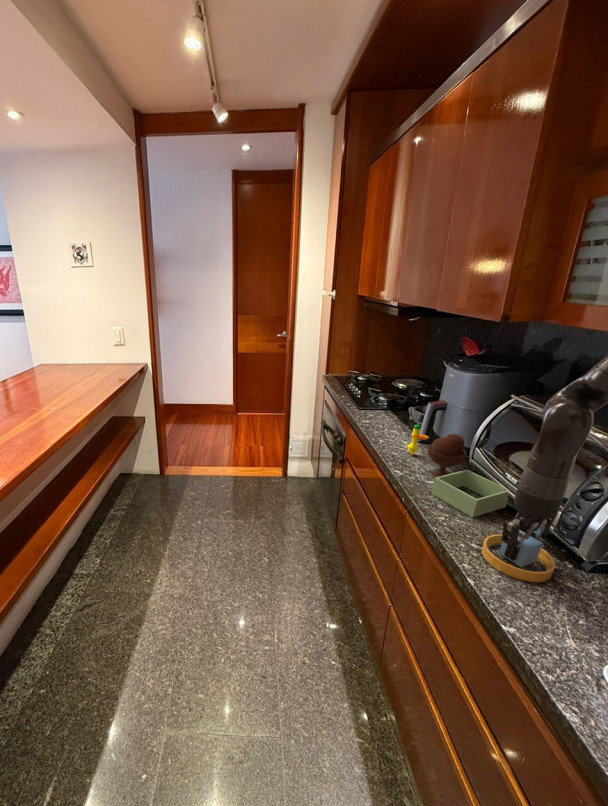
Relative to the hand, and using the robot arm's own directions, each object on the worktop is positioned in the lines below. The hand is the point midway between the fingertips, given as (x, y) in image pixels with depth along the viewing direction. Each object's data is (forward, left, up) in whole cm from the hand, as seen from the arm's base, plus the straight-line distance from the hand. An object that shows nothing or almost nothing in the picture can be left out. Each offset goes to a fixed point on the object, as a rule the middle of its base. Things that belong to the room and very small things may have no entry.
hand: (518, 554), depth 87 cm
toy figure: (-22, -50, -3) cm, 55 cm away
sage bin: (-13, -22, -2) cm, 26 cm away
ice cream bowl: (-19, -36, -3) cm, 41 cm away
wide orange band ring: (0, 0, -2) cm, 2 cm away
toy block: (0, 0, -1) cm, 1 cm away
